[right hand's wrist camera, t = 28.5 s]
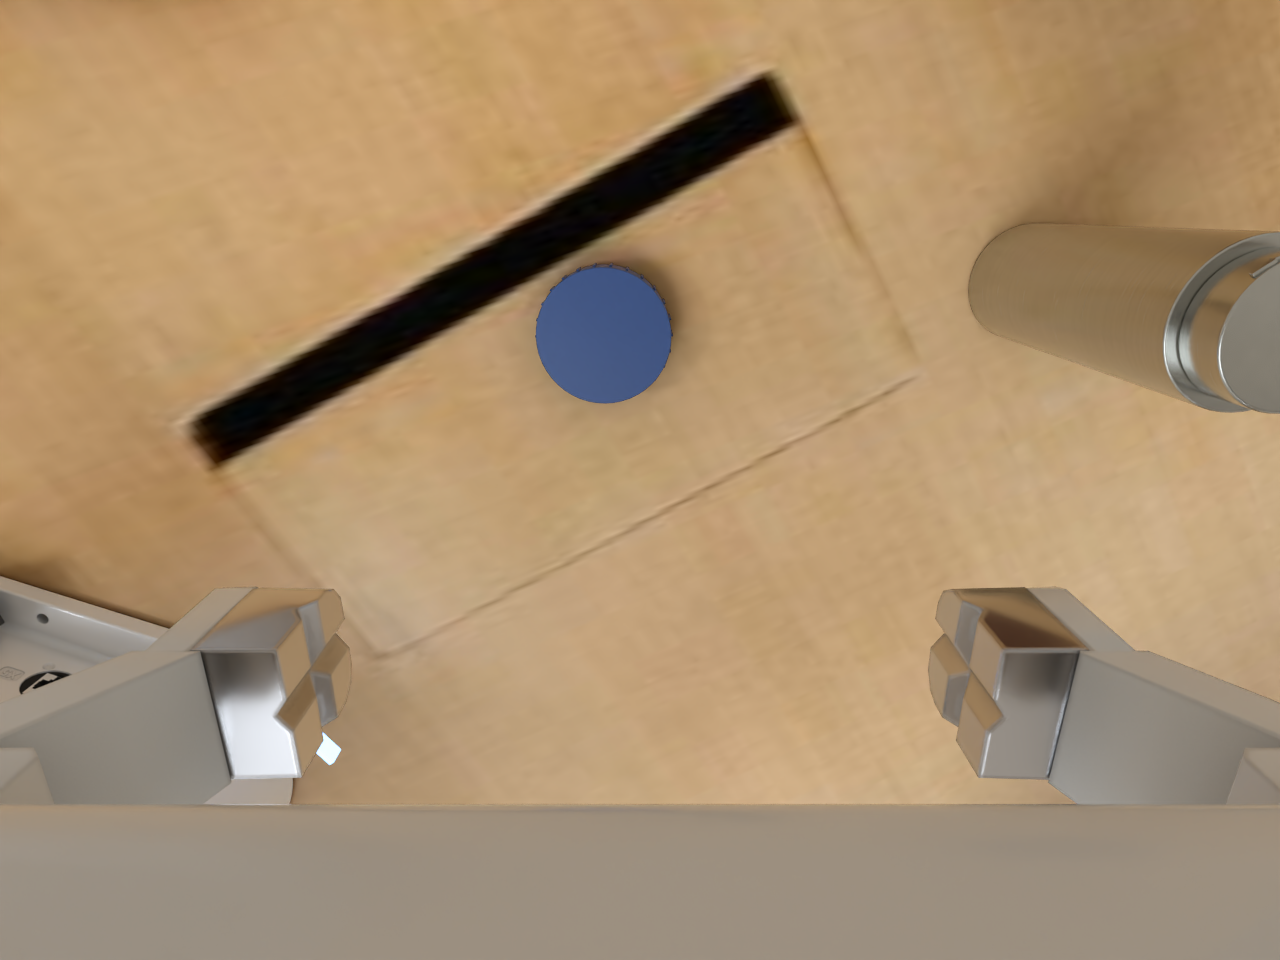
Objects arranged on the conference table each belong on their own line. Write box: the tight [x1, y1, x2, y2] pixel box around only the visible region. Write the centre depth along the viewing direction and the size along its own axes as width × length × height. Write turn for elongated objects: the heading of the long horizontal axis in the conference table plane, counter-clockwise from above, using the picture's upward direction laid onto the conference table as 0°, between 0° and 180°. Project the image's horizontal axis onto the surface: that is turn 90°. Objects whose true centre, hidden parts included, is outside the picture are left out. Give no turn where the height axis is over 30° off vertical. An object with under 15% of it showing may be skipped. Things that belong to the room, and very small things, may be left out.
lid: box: [535, 263, 673, 403], centre depth 34 cm, size 6×6×2 cm
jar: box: [969, 223, 1280, 414], centre depth 27 cm, size 5×5×15 cm
